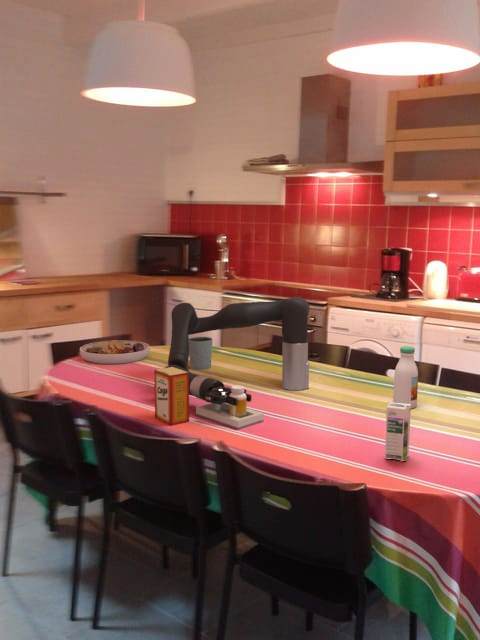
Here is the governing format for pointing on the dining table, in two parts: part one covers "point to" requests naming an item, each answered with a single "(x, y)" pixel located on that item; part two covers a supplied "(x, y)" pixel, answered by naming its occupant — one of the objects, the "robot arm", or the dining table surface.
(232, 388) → the supplement bottle
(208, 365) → the blue-grey cup
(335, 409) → the dining table surface
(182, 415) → the baking soda box
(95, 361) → the bowl
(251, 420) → the gray rectangular tray
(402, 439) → the syrup box
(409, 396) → the milk bottle
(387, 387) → the dining table surface
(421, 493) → the dining table surface
